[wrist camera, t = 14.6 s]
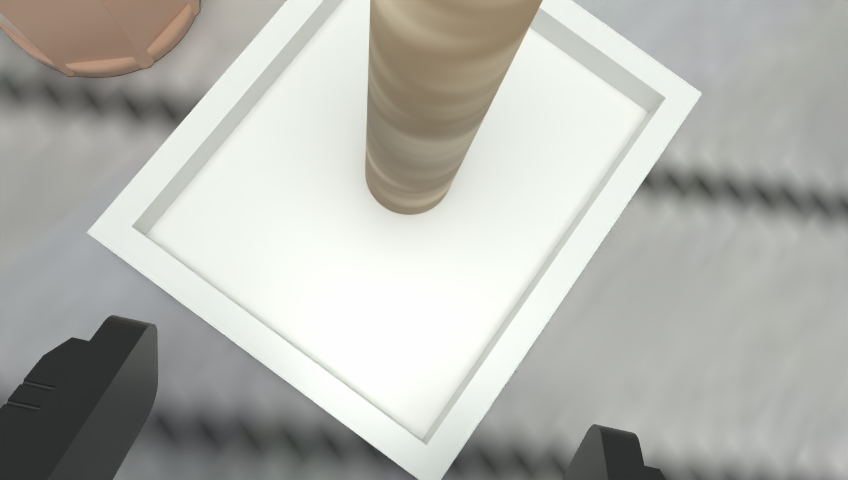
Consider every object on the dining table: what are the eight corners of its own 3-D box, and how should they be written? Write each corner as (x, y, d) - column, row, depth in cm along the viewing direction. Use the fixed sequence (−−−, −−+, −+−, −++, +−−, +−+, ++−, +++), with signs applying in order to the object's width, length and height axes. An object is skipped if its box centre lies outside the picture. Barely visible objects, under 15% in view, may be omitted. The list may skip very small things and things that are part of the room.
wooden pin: (347, 180, 25) (327, -153, 9) (399, 114, 25) (464, -302, 10) (418, 231, 24) (523, -13, 9) (468, 164, 25) (649, -175, 9)
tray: (114, 244, 24) (86, 232, 22) (392, -83, 28) (395, -126, 25) (426, 477, 24) (433, 490, 22) (671, 117, 27) (702, 93, 25)
